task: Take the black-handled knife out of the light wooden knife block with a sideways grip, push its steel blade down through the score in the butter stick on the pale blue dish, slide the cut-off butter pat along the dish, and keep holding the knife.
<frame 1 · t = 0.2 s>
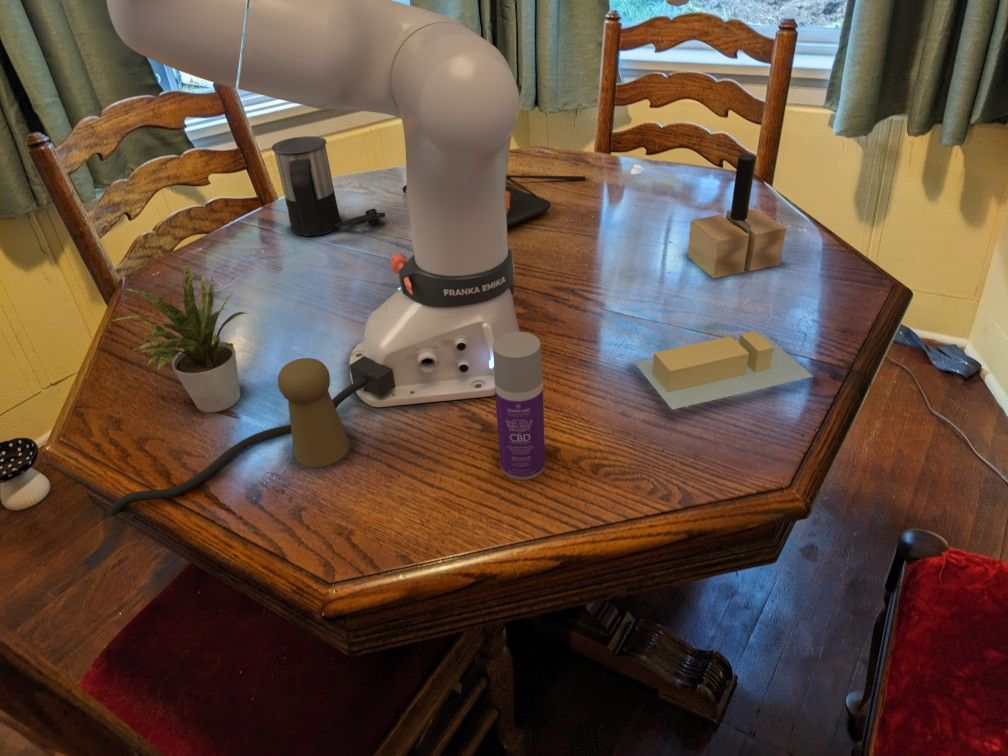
sushi plate: (505, 194, 139), on the table
container: (523, 466, 76), on the table
butter stick: (698, 374, 86), point 1 cm above the table, touching butter dish
knife: (732, 260, 111), resting in knife block
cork: (322, 450, 80), on the table
butter dish: (720, 375, 87), on the table
house plant: (213, 396, 90), on the table
butter pat: (753, 361, 87), point 1 cm above the table, touching butter dish
milk frother: (338, 227, 130), on the table
knife block: (732, 260, 111), on the table
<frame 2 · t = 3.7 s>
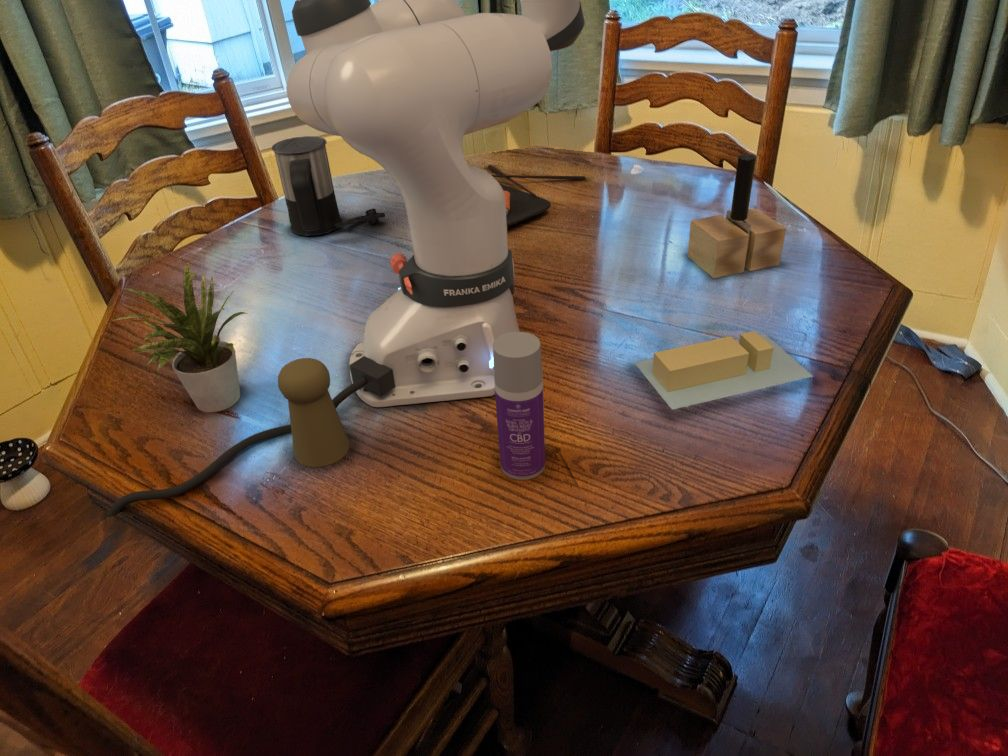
nothing on the table moved.
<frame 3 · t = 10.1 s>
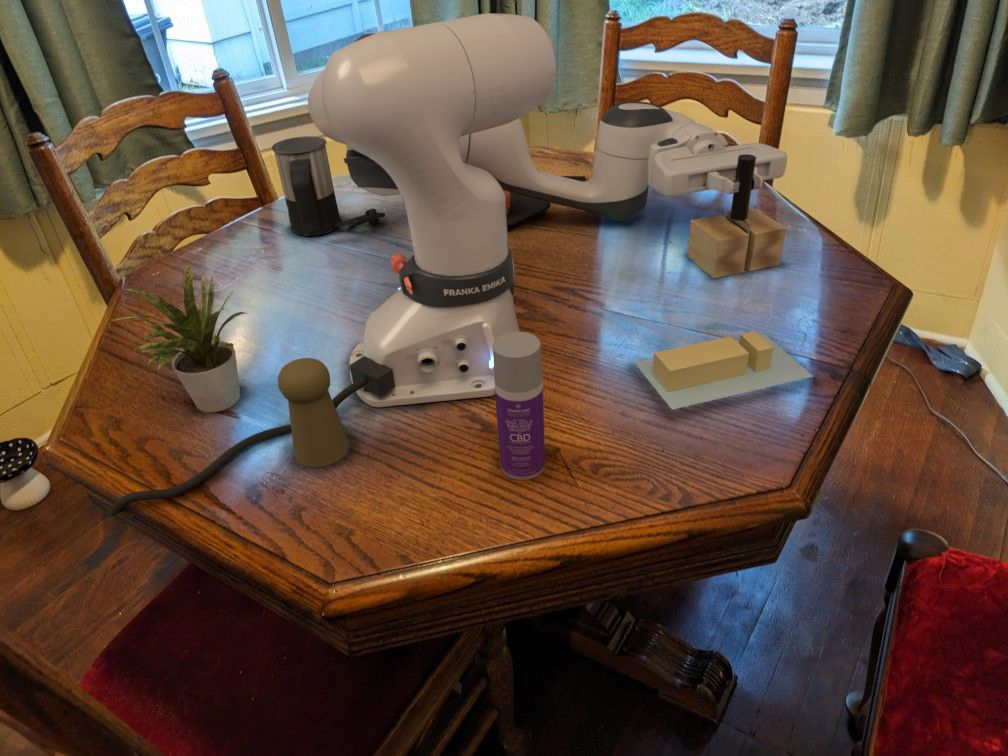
hand: (746, 186, 103), 12 cm above the table, tool horizontal, fingers closed on knife, 2 cm apart
knife: (732, 260, 111), resting in knife block, touching gripper
everything else where it was.
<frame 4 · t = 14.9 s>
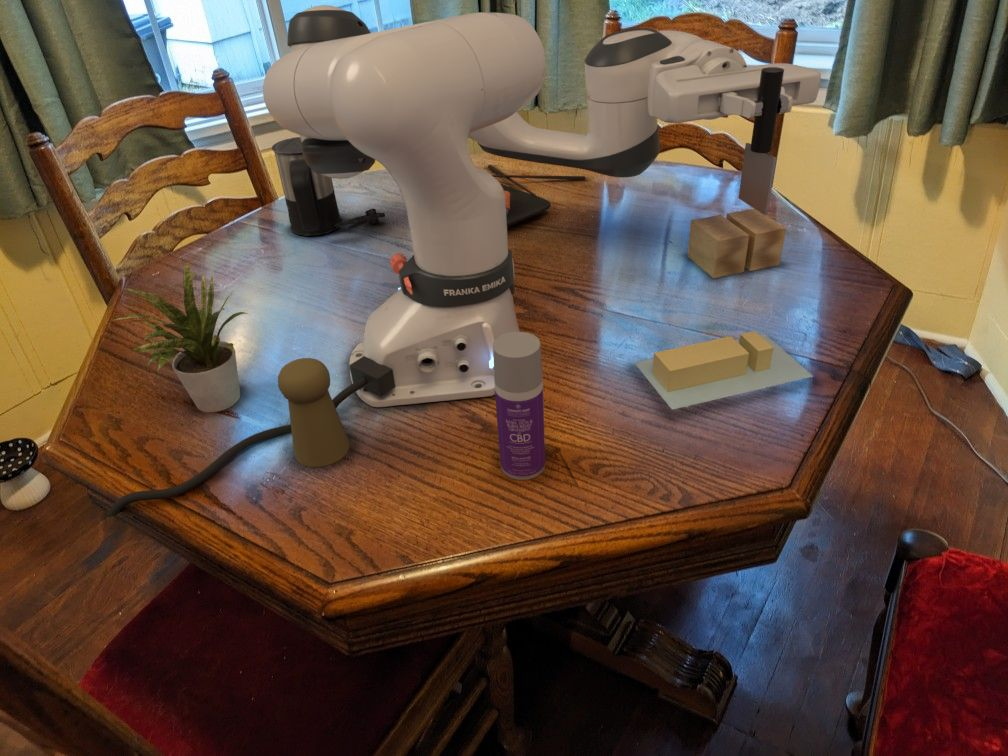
hand: (771, 108, 83), 27 cm above the table, tool horizontal, fingers closed on knife, 2 cm apart
knife: (752, 206, 90), point 15 cm above the table, touching gripper
everything else where it was.
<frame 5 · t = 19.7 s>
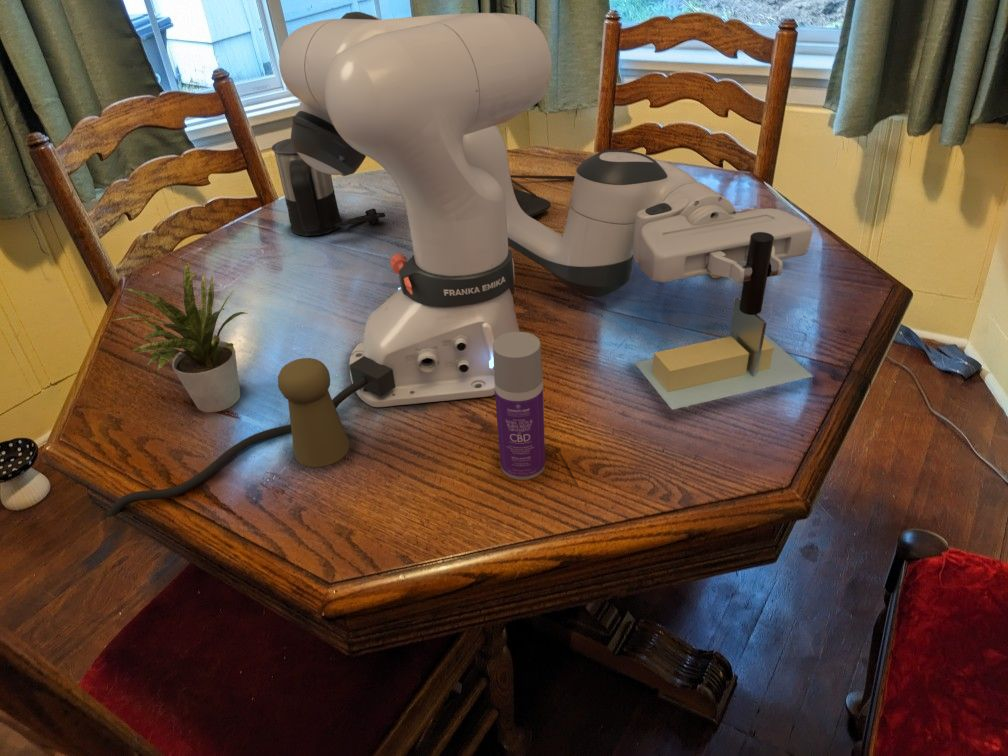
hand: (761, 273, 79), 14 cm above the table, tool horizontal, fingers closed on knife, 2 cm apart
knife: (741, 360, 87), point 1 cm above the table, touching gripper
everything else where it was.
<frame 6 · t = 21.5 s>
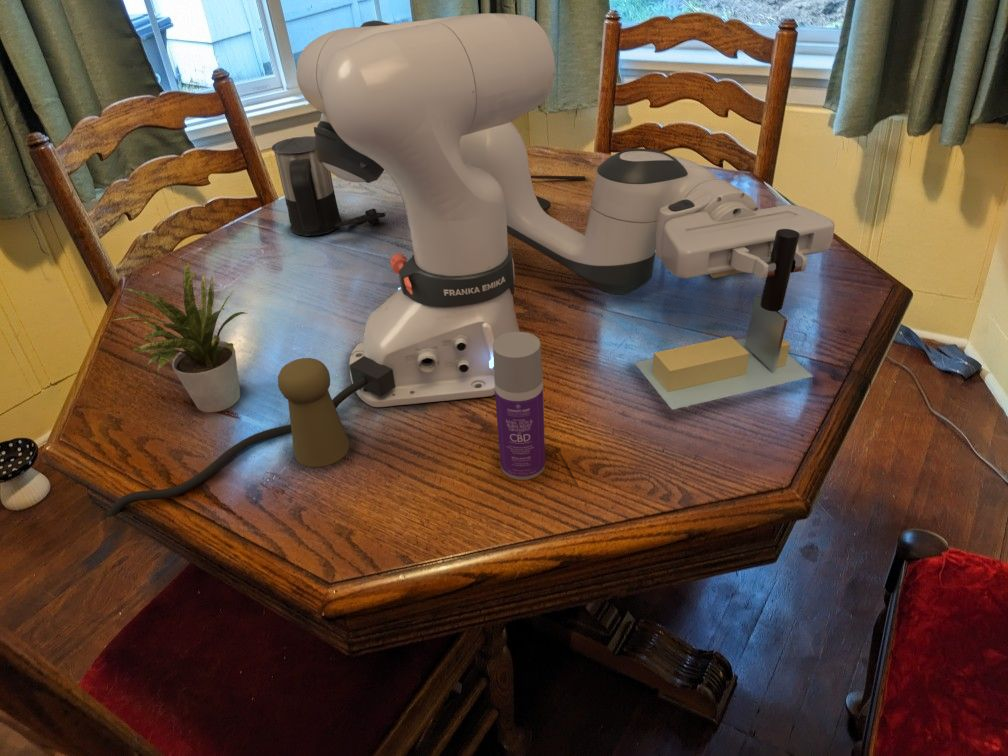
hand: (785, 269, 80), 13 cm above the table, tool horizontal, fingers closed on knife, 2 cm apart
knife: (759, 357, 87), point 1 cm above the table, touching butter pat, gripper
butter pat: (768, 358, 88), point 1 cm above the table, touching butter dish, knife
everything else where it was.
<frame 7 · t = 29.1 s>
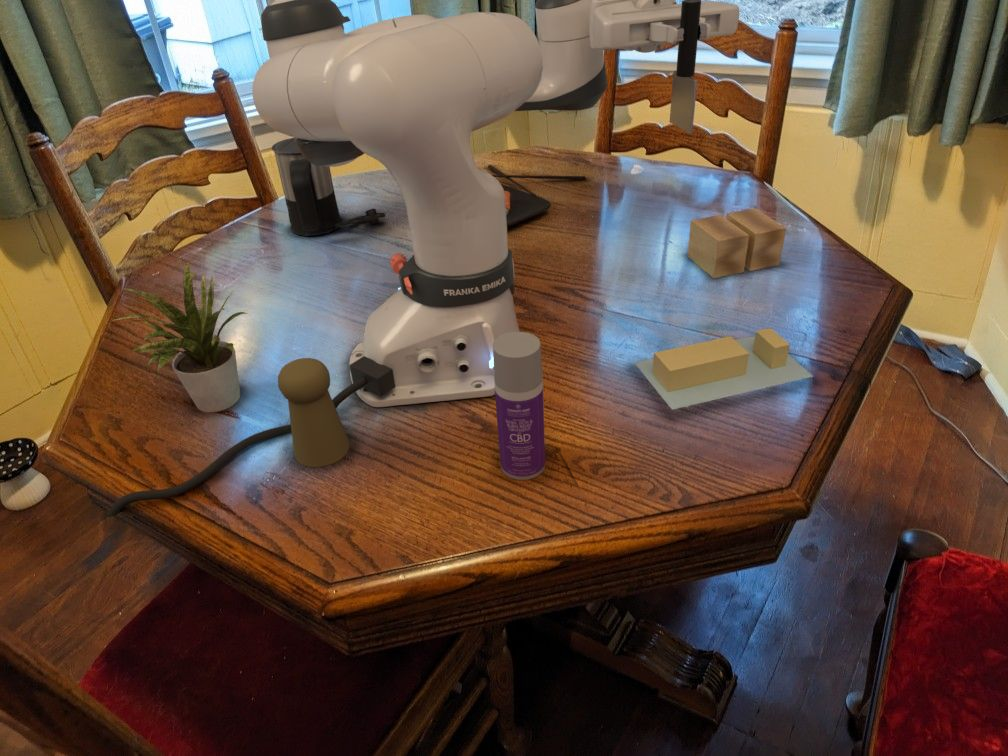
hand: (691, 34, 94), 32 cm above the table, tool horizontal, fingers closed on knife, 2 cm apart
knife: (680, 127, 102), point 20 cm above the table, touching gripper
butter pat: (768, 358, 88), point 1 cm above the table, touching butter dish
everything else where it was.
at the end: butter pat 1.1 cm from the target spot on the butter dish, point 1.0 cm above the butter dish's base; butter stick moved 0.0 cm from its start; the gripper is holding knife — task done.
